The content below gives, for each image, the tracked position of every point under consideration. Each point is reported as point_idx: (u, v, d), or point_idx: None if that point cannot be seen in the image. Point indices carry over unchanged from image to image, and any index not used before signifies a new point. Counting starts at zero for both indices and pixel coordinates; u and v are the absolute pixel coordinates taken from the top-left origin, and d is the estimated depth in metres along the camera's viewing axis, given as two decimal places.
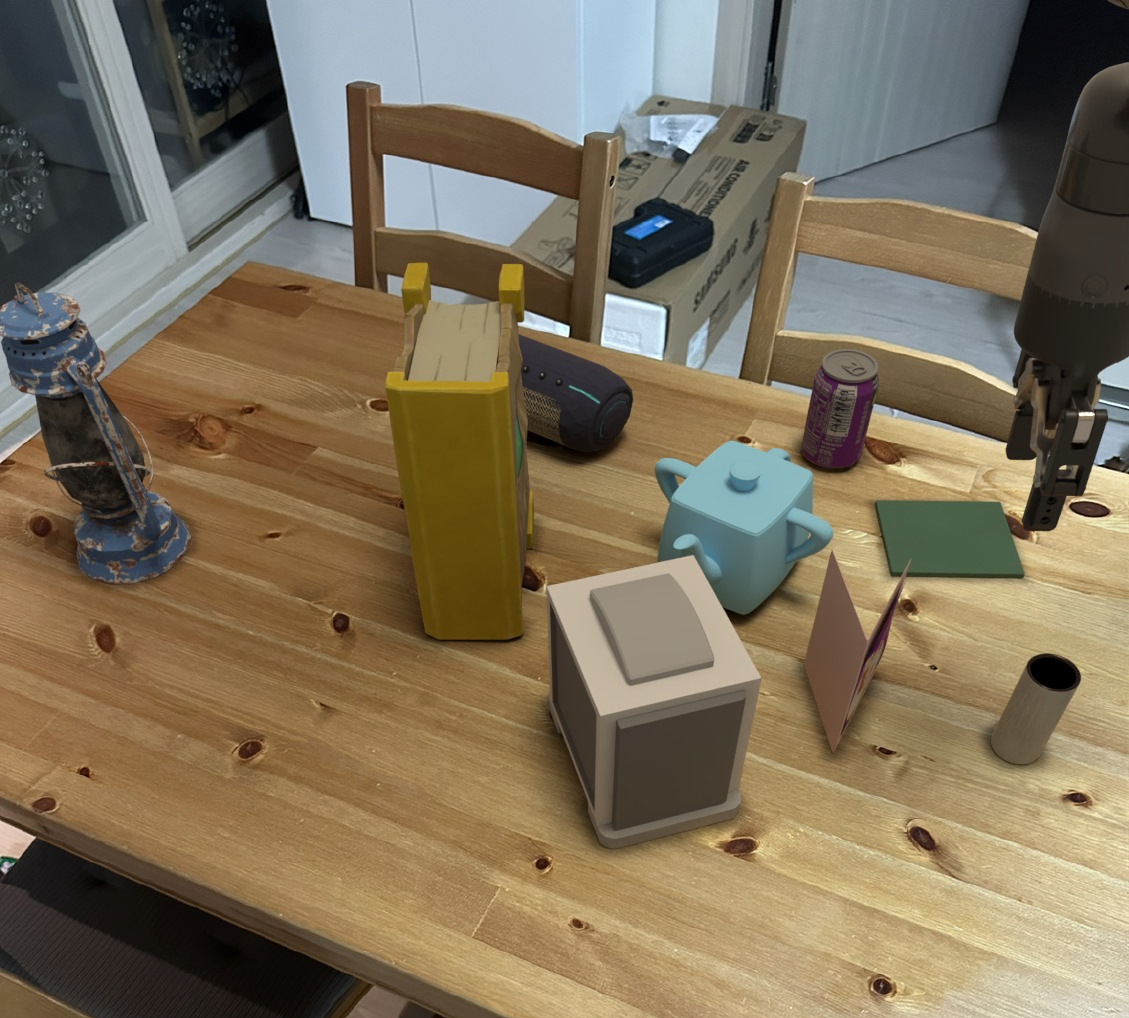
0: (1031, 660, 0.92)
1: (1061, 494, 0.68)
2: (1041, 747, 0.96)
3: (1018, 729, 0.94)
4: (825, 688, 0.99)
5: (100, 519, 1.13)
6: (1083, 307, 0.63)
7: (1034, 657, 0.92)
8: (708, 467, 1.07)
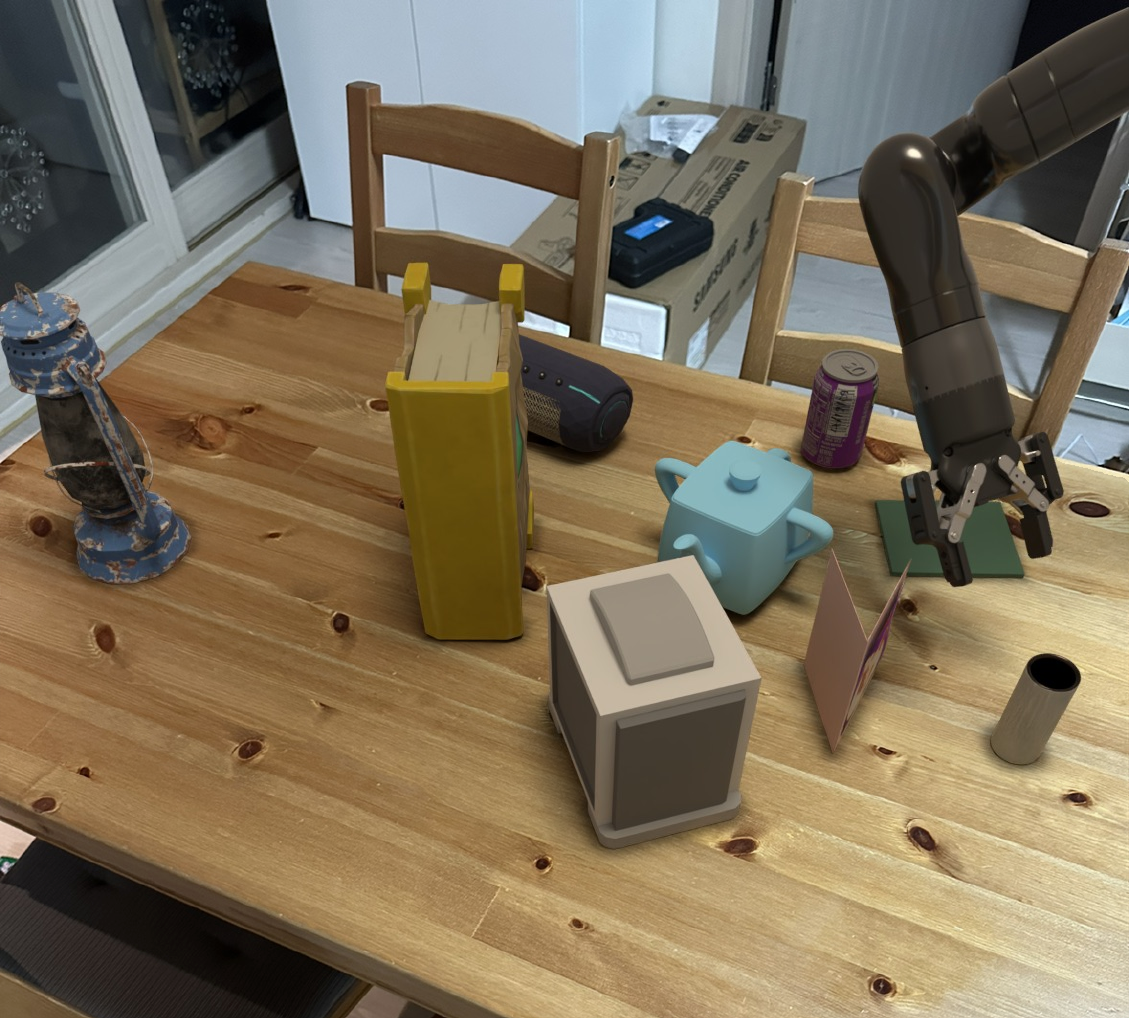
0: (1031, 660, 0.92)
1: (920, 540, 0.90)
2: (1041, 747, 0.96)
3: (1018, 729, 0.94)
4: (825, 688, 0.99)
5: (100, 519, 1.13)
6: (915, 408, 0.90)
7: (1034, 657, 0.92)
8: (708, 467, 1.07)
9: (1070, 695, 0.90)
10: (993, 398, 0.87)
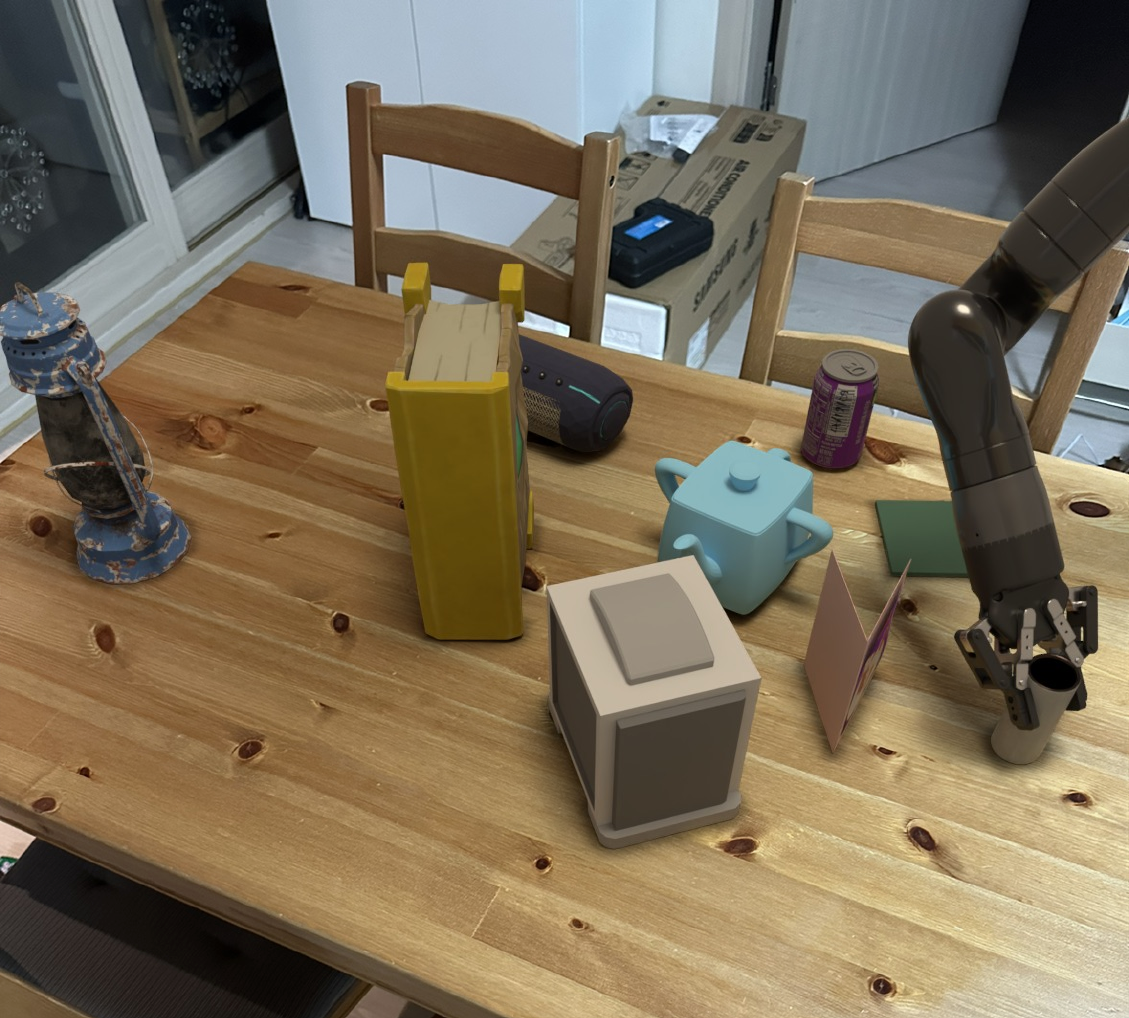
0: None
1: (988, 686, 0.91)
2: (1041, 747, 0.96)
3: (1018, 729, 0.94)
4: (825, 688, 0.99)
5: (100, 519, 1.13)
6: (965, 551, 0.91)
7: (1034, 657, 0.92)
8: (708, 467, 1.07)
9: (1070, 695, 0.90)
10: (1043, 547, 0.87)
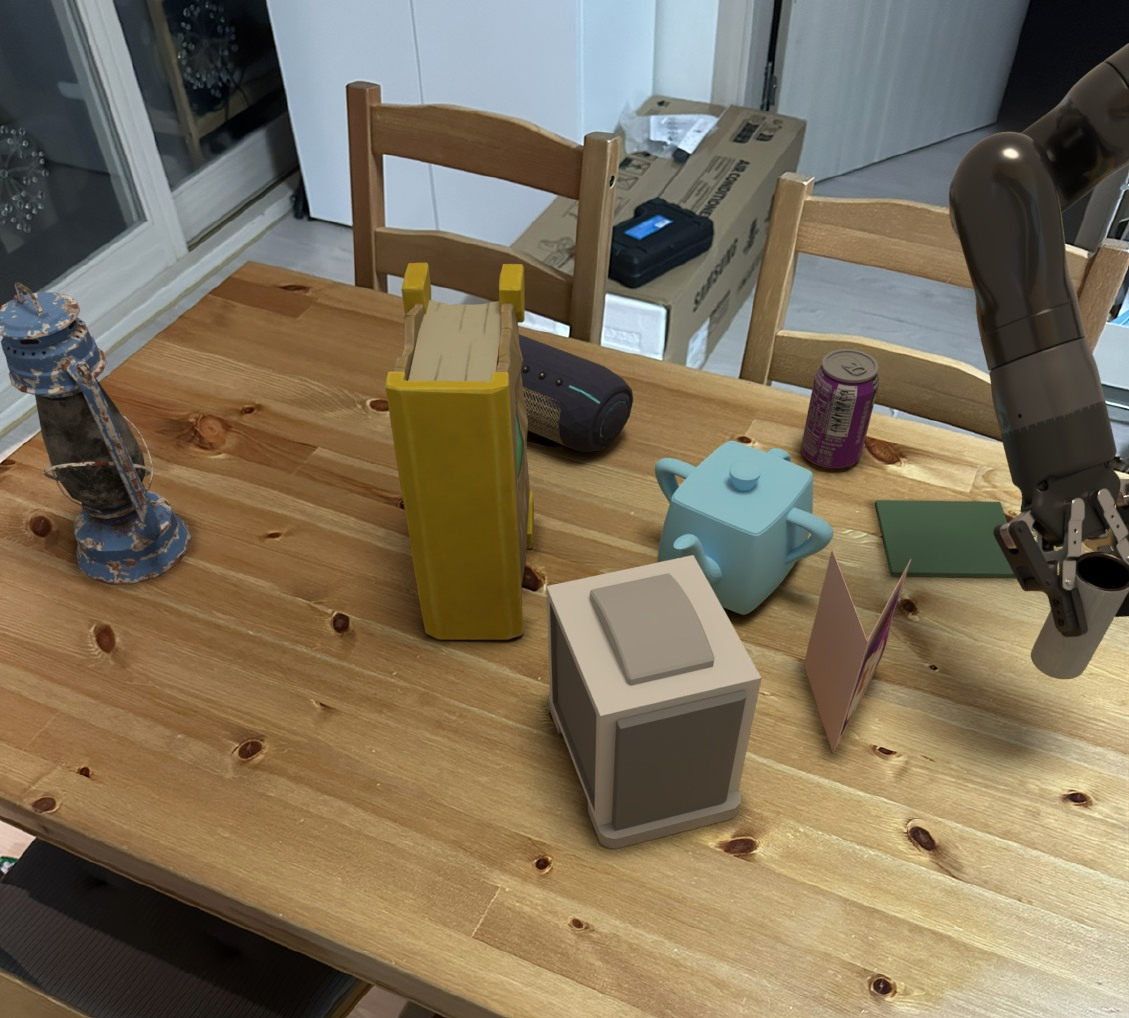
0: (1078, 559, 0.83)
1: (1031, 587, 0.82)
2: (1087, 659, 0.87)
3: (1063, 638, 0.86)
4: (825, 688, 0.99)
5: (100, 519, 1.13)
6: (1005, 437, 0.82)
7: (1081, 556, 0.83)
8: (708, 467, 1.07)
9: (1122, 596, 0.82)
10: (1094, 427, 0.78)
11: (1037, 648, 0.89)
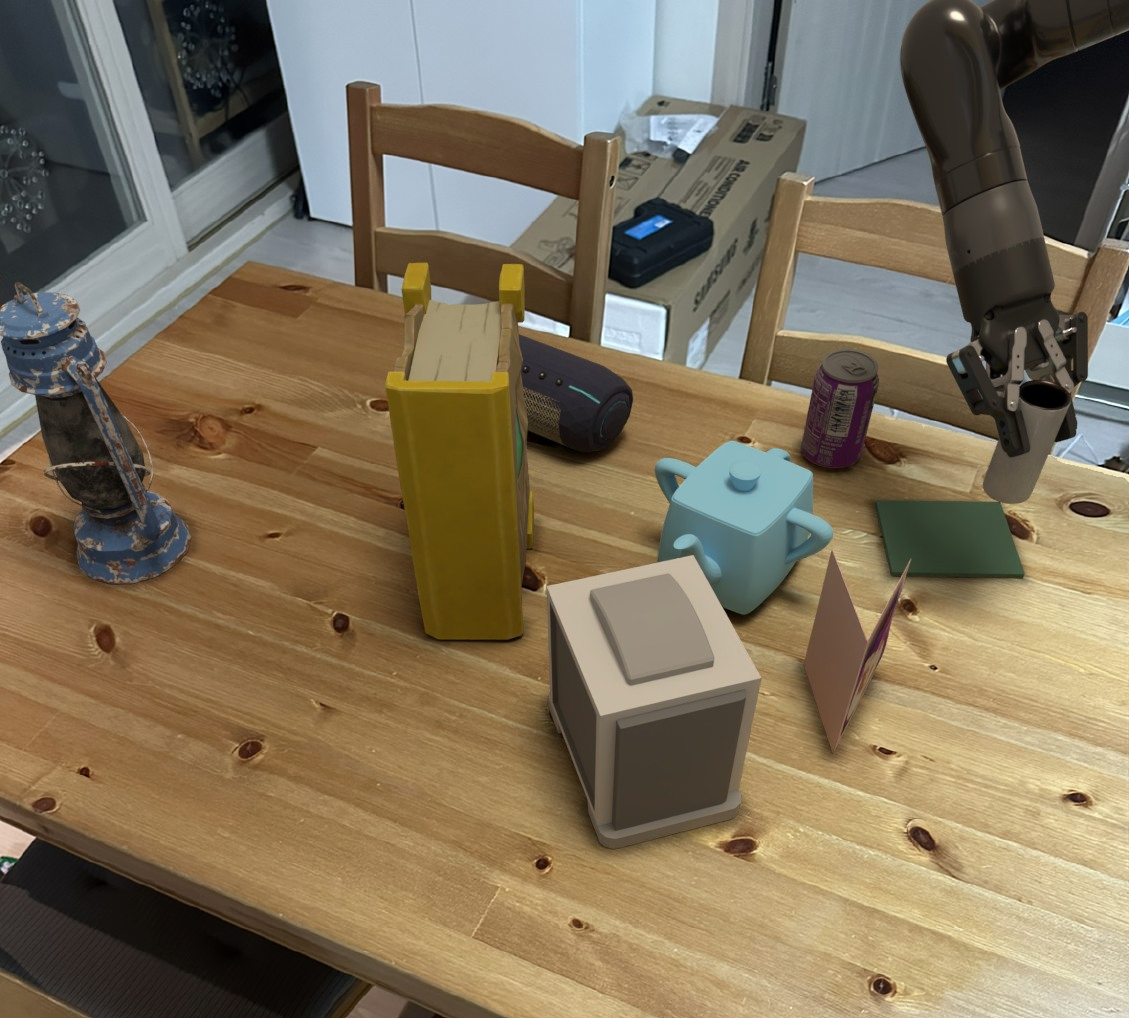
0: (1022, 385, 0.93)
1: (980, 409, 0.92)
2: (1032, 483, 0.97)
3: (1009, 461, 0.96)
4: (825, 688, 0.99)
5: (100, 519, 1.13)
6: (957, 274, 0.92)
7: (1025, 383, 0.93)
8: (708, 467, 1.07)
9: (1060, 416, 0.92)
10: (1034, 260, 0.88)
11: (987, 476, 0.99)
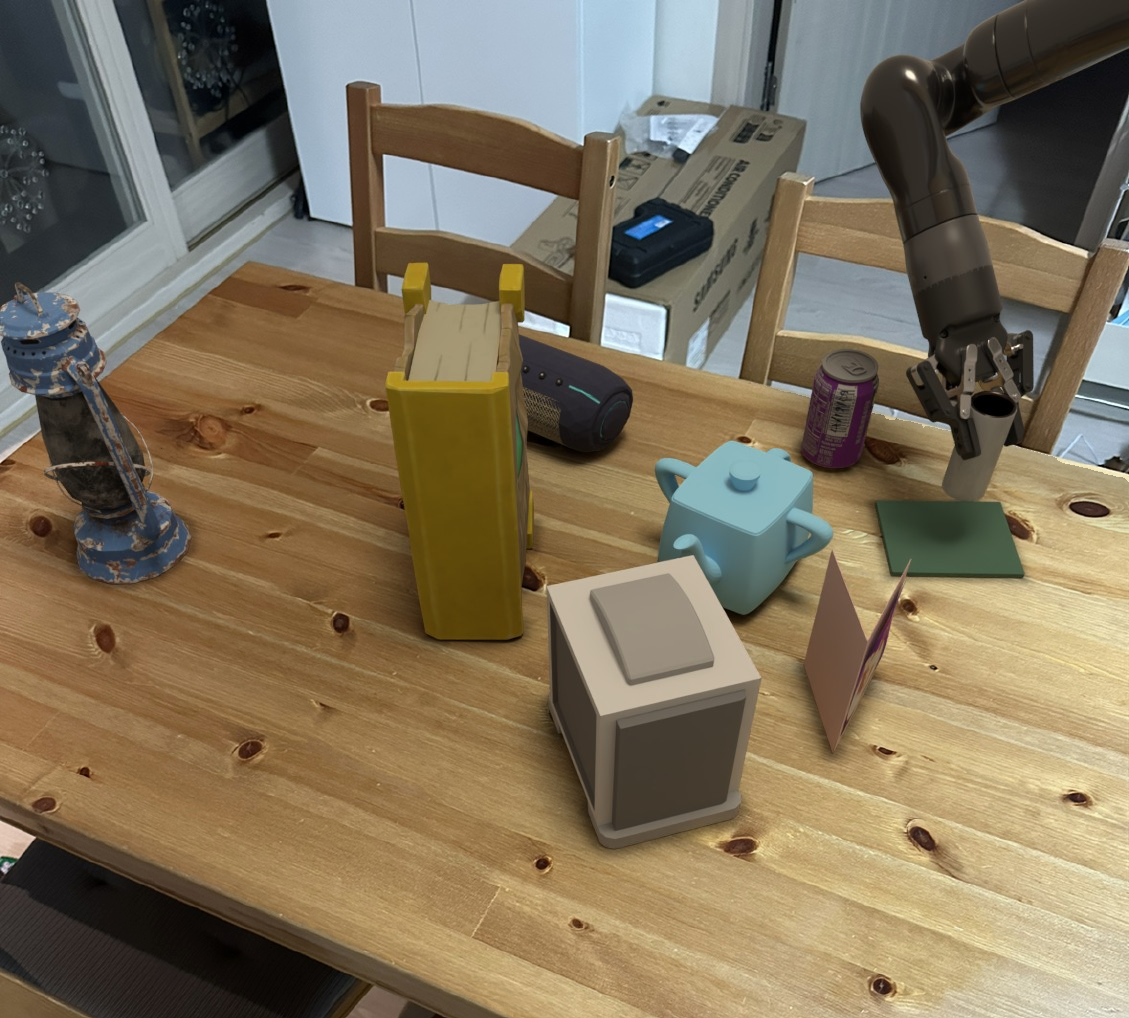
0: (974, 395, 1.04)
1: (936, 417, 1.04)
2: (985, 483, 1.08)
3: (964, 463, 1.07)
4: (825, 688, 0.99)
5: (100, 519, 1.13)
6: (915, 297, 1.03)
7: (977, 393, 1.04)
8: (708, 467, 1.07)
9: (1007, 423, 1.03)
10: (983, 285, 1.00)
11: (946, 476, 1.10)
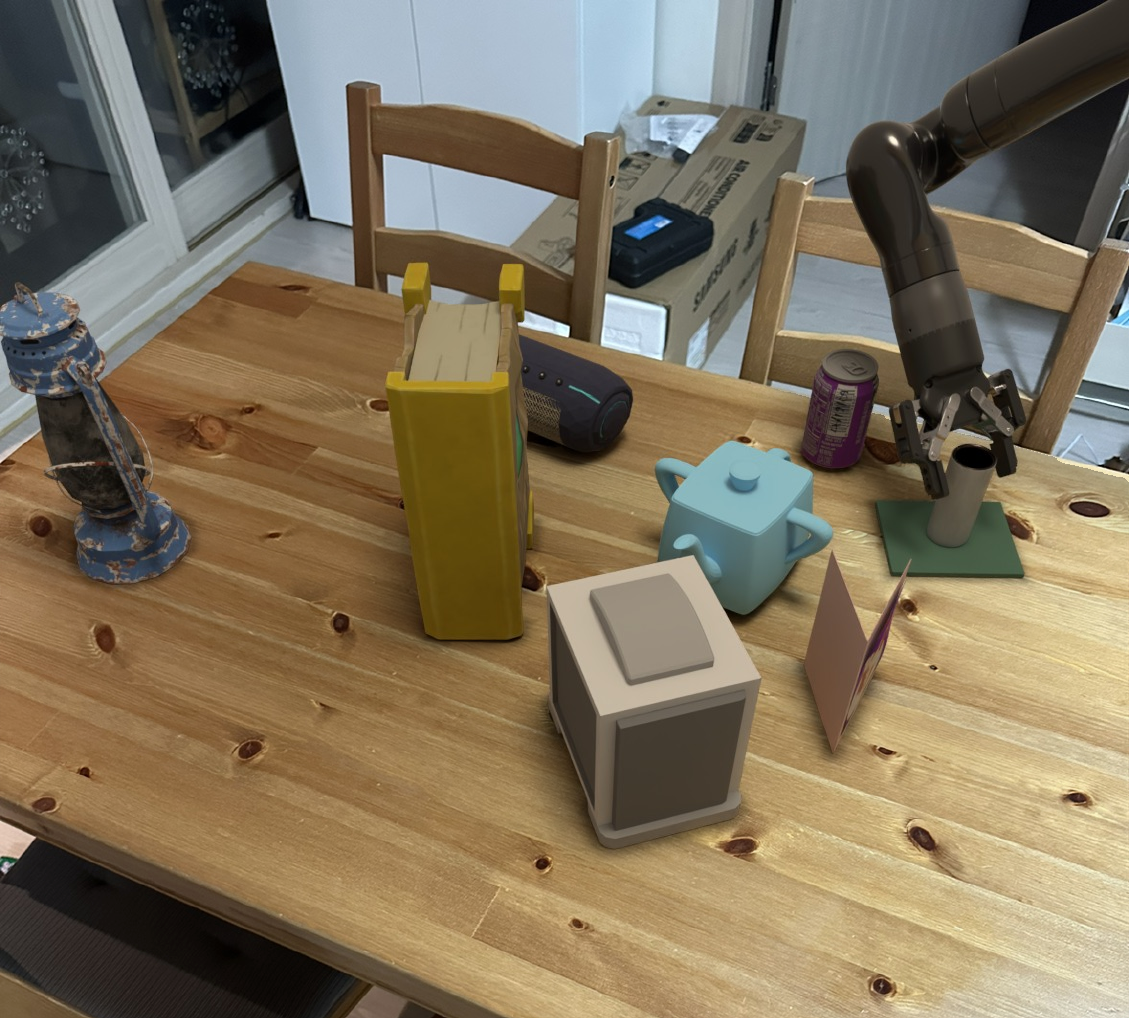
0: (956, 448, 1.09)
1: (905, 459, 1.07)
2: (967, 530, 1.13)
3: (947, 511, 1.12)
4: (825, 688, 0.99)
5: (100, 519, 1.13)
6: (901, 348, 1.07)
7: (958, 446, 1.09)
8: (708, 467, 1.07)
9: (987, 475, 1.08)
10: (965, 338, 1.04)
11: (930, 523, 1.15)
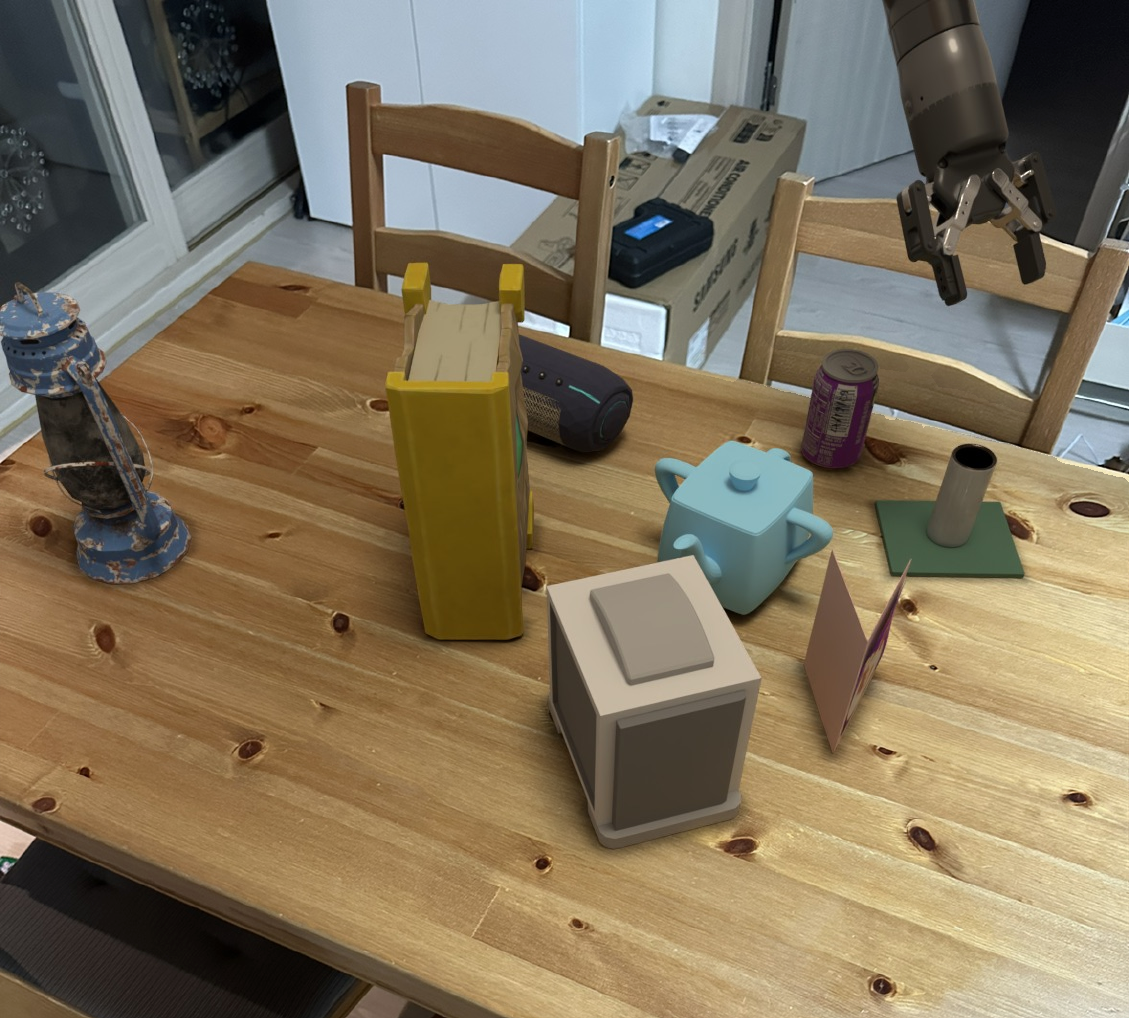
0: (956, 448, 1.09)
1: (916, 254, 0.92)
2: (967, 530, 1.13)
3: (947, 511, 1.12)
4: (825, 688, 0.99)
5: (100, 519, 1.13)
6: (911, 124, 0.92)
7: (959, 446, 1.09)
8: (708, 467, 1.07)
9: (988, 475, 1.08)
10: (986, 104, 0.88)
11: (930, 523, 1.15)
